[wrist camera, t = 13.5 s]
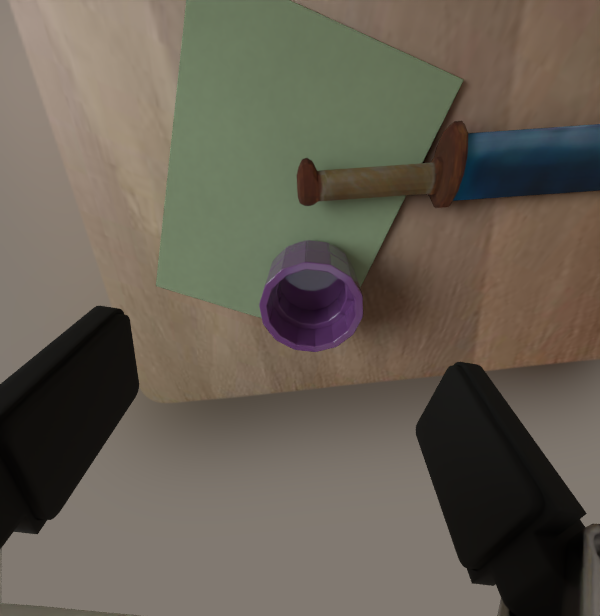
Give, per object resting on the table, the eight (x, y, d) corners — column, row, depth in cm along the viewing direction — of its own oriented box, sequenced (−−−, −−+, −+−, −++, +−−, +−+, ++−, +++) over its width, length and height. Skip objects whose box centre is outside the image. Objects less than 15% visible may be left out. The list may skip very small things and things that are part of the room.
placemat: (157, 284, 25) (155, 286, 25) (193, -41, 16) (191, -46, 15) (333, 337, 28) (333, 340, 27) (461, 80, 18) (464, 79, 18)
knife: (748, 105, 16) (679, 199, 19) (688, 100, 18) (635, 185, 22) (294, 137, 16) (299, 226, 19) (293, 128, 18) (297, 208, 22)
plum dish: (259, 301, 26) (248, 336, 21) (284, 224, 22) (277, 246, 18) (334, 325, 26) (338, 363, 22) (368, 254, 23) (381, 282, 19)
